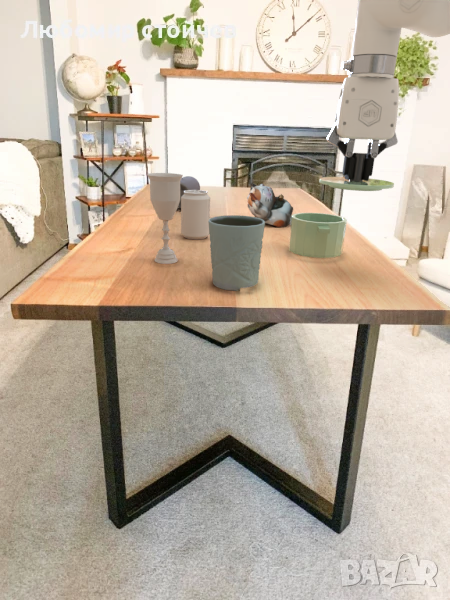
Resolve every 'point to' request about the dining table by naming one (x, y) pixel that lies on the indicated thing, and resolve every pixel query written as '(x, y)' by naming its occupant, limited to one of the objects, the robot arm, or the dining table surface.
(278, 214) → the lucky cat figurine
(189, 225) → the can
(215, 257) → the green ceramic cup
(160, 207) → the chalice
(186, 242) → the dining table surface
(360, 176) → the lid
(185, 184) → the bluetooth speaker
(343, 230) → the pot
